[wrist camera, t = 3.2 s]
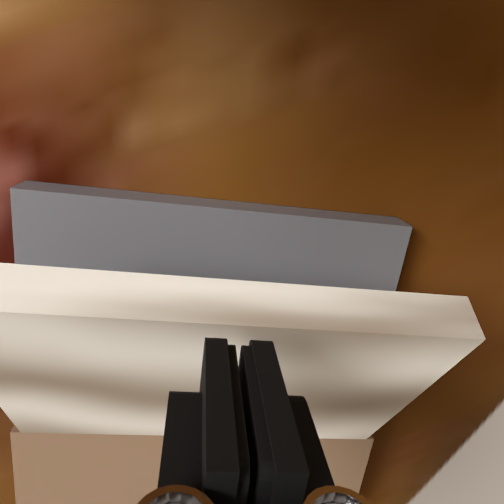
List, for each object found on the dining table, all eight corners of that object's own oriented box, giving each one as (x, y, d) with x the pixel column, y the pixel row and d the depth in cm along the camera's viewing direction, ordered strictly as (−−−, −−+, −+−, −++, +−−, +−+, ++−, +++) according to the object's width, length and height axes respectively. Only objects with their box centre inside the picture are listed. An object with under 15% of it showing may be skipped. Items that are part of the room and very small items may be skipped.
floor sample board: (25, 180, 17) (-9, 197, 14) (397, 217, 19) (430, 237, 17) (41, 480, 22) (18, 535, 20) (331, 481, 25) (348, 530, 22)
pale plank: (-52, 259, 11) (-79, 307, 10) (467, 296, 13) (485, 339, 12) (31, 396, 18) (20, 432, 18) (359, 406, 21) (366, 439, 20)
